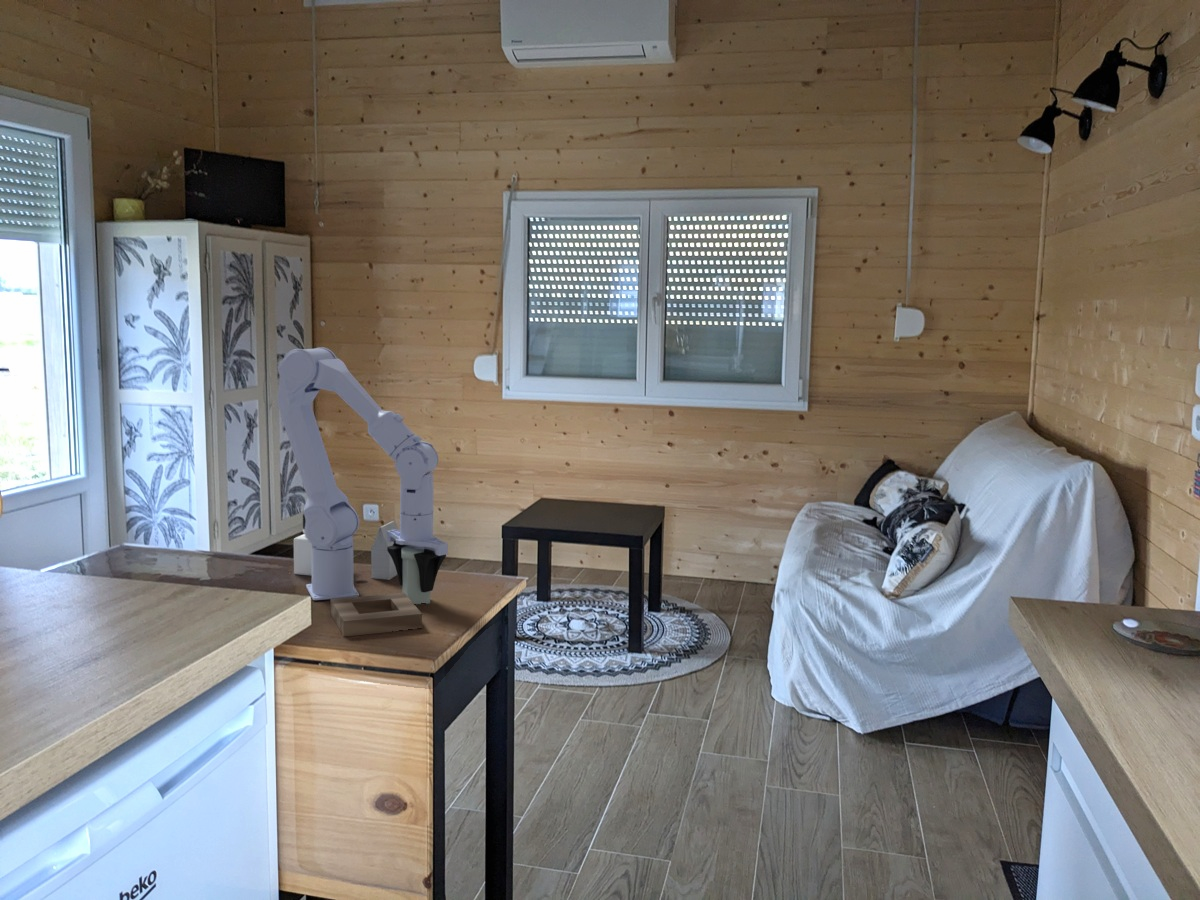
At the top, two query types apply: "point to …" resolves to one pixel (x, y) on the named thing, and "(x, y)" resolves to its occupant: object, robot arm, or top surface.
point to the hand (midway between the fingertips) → (416, 587)
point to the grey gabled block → (382, 554)
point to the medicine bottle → (302, 554)
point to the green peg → (412, 576)
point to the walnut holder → (375, 614)
